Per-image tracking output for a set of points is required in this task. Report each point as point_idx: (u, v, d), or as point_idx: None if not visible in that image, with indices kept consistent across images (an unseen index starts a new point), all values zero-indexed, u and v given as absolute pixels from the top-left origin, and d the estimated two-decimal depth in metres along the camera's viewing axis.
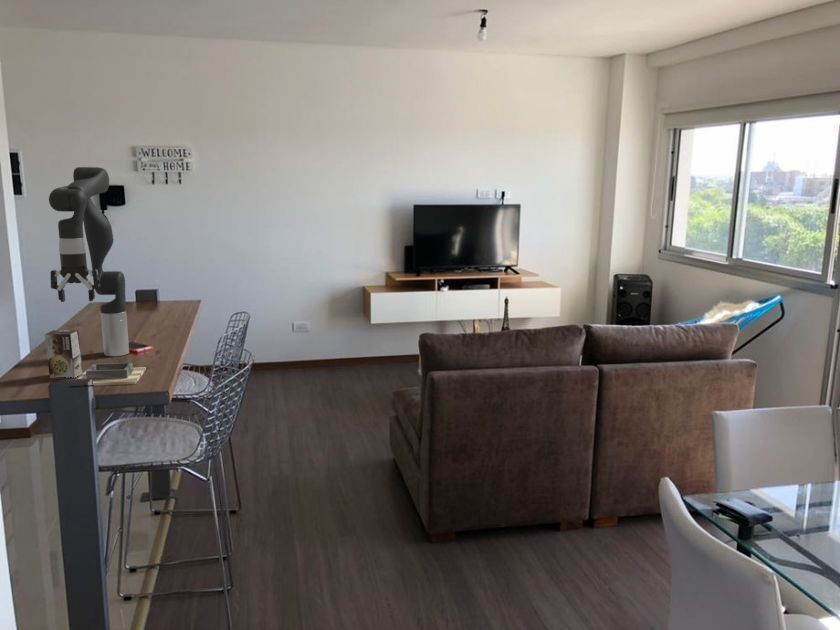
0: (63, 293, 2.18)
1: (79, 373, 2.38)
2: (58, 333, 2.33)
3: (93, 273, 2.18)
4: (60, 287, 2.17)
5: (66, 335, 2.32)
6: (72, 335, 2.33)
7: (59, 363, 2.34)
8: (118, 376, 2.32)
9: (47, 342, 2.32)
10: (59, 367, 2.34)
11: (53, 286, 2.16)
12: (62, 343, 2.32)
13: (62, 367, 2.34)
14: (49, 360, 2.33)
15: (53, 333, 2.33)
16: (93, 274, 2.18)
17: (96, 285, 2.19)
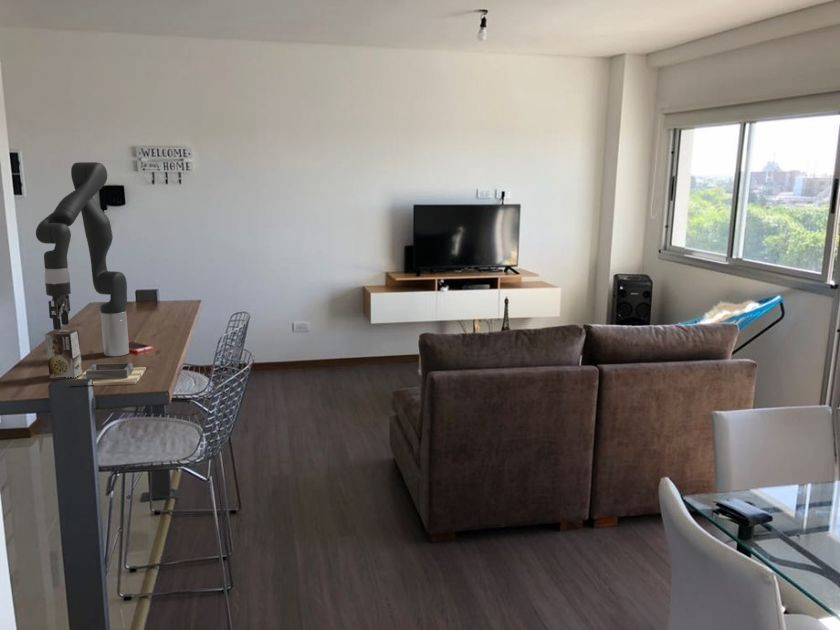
0: None
1: (79, 373, 2.38)
2: (58, 333, 2.33)
3: (68, 298, 2.39)
4: (60, 315, 2.30)
5: (66, 335, 2.32)
6: (72, 335, 2.33)
7: (59, 363, 2.34)
8: (118, 376, 2.32)
9: (47, 342, 2.32)
10: (59, 367, 2.34)
11: (58, 315, 2.27)
12: (62, 343, 2.32)
13: (62, 367, 2.34)
14: (49, 360, 2.33)
15: (53, 333, 2.33)
16: (68, 299, 2.39)
17: (69, 308, 2.40)
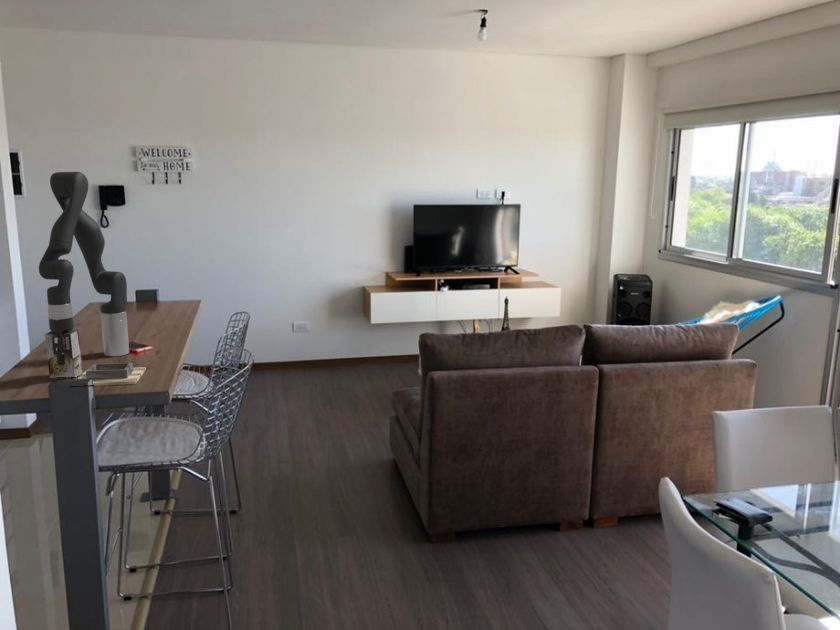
0: None
1: (79, 373, 2.38)
2: None
3: None
4: None
5: (66, 335, 2.32)
6: (72, 335, 2.33)
7: None
8: (118, 376, 2.32)
9: (47, 342, 2.32)
10: (59, 367, 2.34)
11: (62, 351, 2.30)
12: (62, 343, 2.32)
13: (63, 367, 2.34)
14: (49, 360, 2.33)
15: (53, 333, 2.33)
16: None
17: None
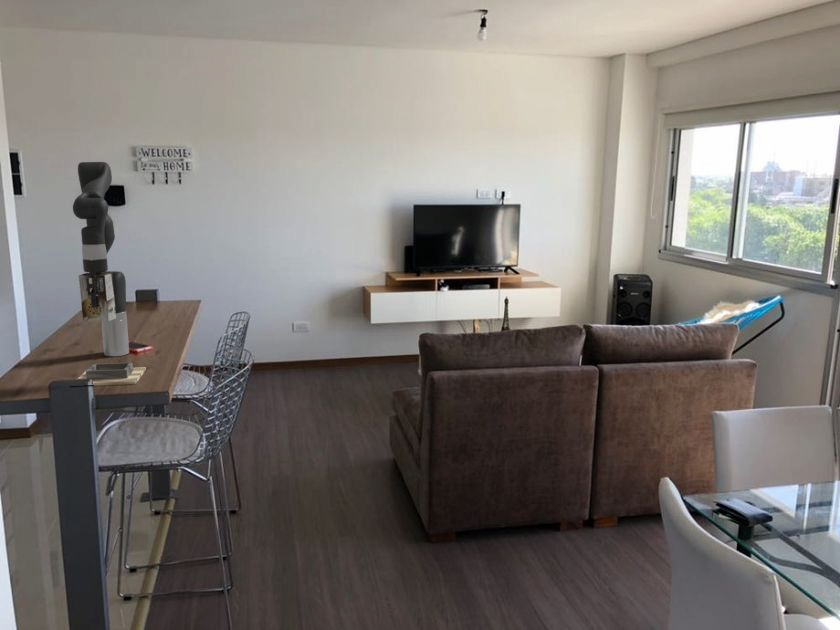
0: None
1: (113, 317, 2.32)
2: None
3: None
4: None
5: (100, 276, 2.26)
6: (106, 277, 2.27)
7: None
8: (118, 376, 2.32)
9: (81, 283, 2.26)
10: (93, 310, 2.28)
11: (96, 292, 2.25)
12: (96, 284, 2.27)
13: (96, 310, 2.28)
14: (83, 302, 2.28)
15: (87, 274, 2.27)
16: None
17: None
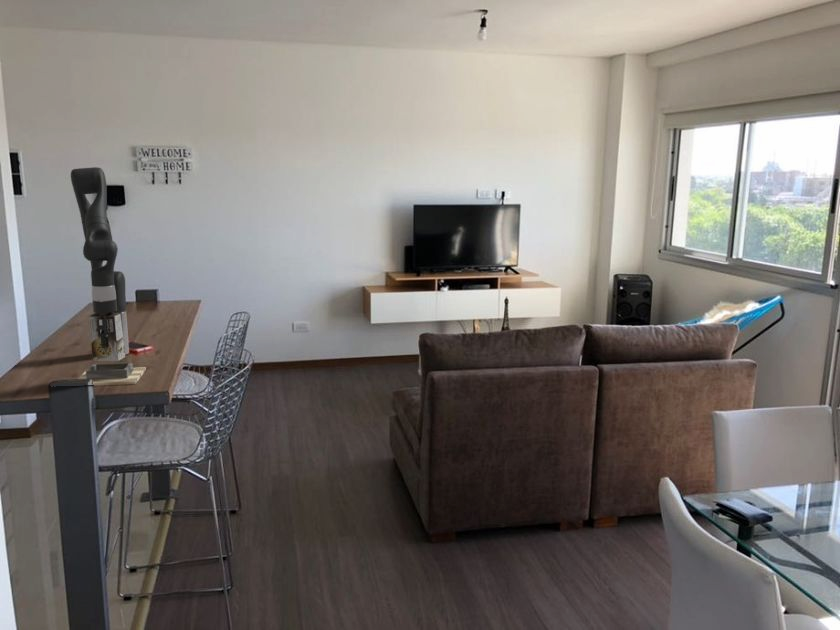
0: None
1: (122, 356, 2.35)
2: None
3: None
4: (107, 333, 2.29)
5: (110, 317, 2.29)
6: (116, 317, 2.30)
7: None
8: (118, 376, 2.32)
9: (91, 324, 2.29)
10: (103, 350, 2.31)
11: (106, 333, 2.27)
12: (106, 325, 2.29)
13: (106, 350, 2.31)
14: (93, 343, 2.30)
15: (97, 315, 2.30)
16: None
17: None
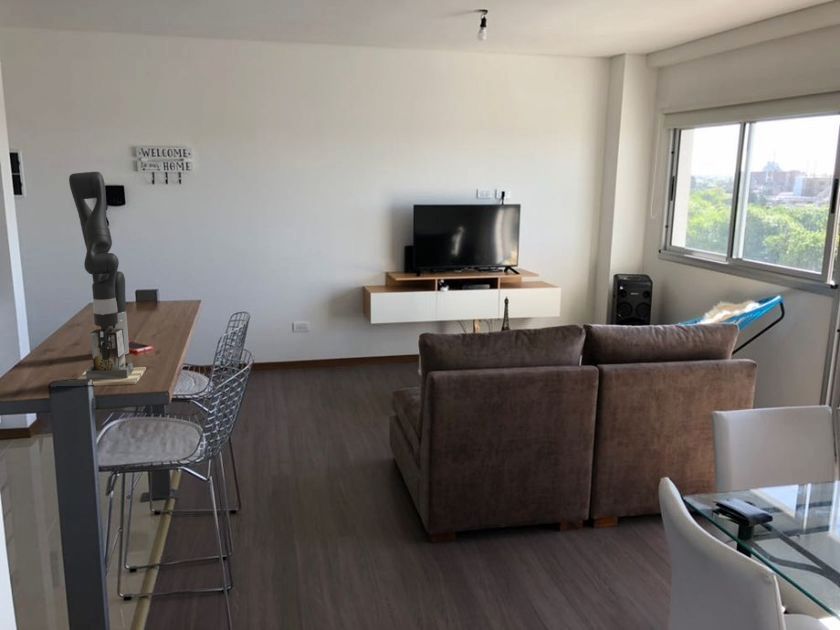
0: None
1: None
2: None
3: (115, 326, 2.39)
4: (108, 345, 2.30)
5: (112, 333, 2.30)
6: (118, 333, 2.32)
7: (104, 362, 2.32)
8: (118, 376, 2.32)
9: (93, 341, 2.30)
10: (105, 366, 2.32)
11: (107, 346, 2.28)
12: None
13: (108, 366, 2.32)
14: (94, 359, 2.32)
15: (98, 331, 2.31)
16: (115, 327, 2.39)
17: None
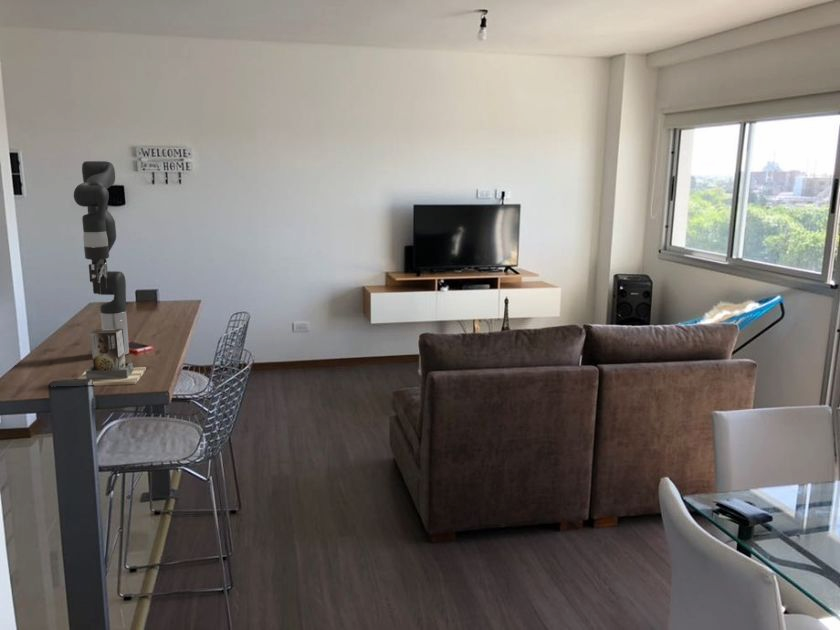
0: None
1: None
2: (103, 332, 2.31)
3: (105, 262, 2.37)
4: (99, 279, 2.28)
5: (112, 334, 2.30)
6: (117, 334, 2.32)
7: (104, 362, 2.32)
8: (118, 376, 2.32)
9: (92, 341, 2.30)
10: (105, 366, 2.32)
11: (98, 279, 2.26)
12: (108, 341, 2.31)
13: (108, 366, 2.32)
14: (94, 359, 2.32)
15: (98, 332, 2.31)
16: (105, 263, 2.37)
17: (107, 273, 2.38)
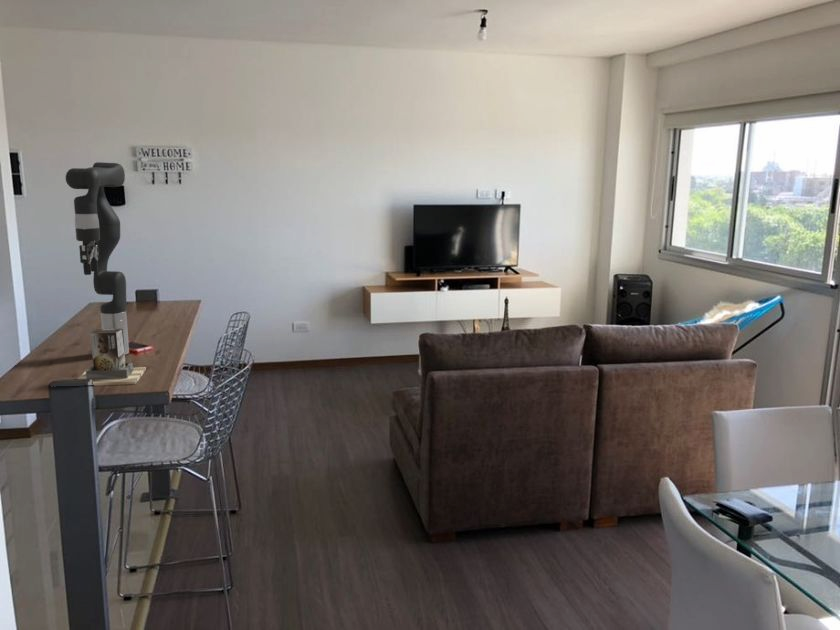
0: None
1: None
2: (103, 332, 2.31)
3: (97, 245, 2.41)
4: (90, 260, 2.32)
5: (112, 334, 2.30)
6: (117, 334, 2.32)
7: (104, 362, 2.32)
8: (118, 376, 2.32)
9: (92, 341, 2.30)
10: (105, 366, 2.32)
11: (88, 260, 2.30)
12: (108, 341, 2.31)
13: (108, 366, 2.32)
14: (94, 359, 2.32)
15: (98, 332, 2.31)
16: (97, 246, 2.41)
17: (98, 256, 2.42)
